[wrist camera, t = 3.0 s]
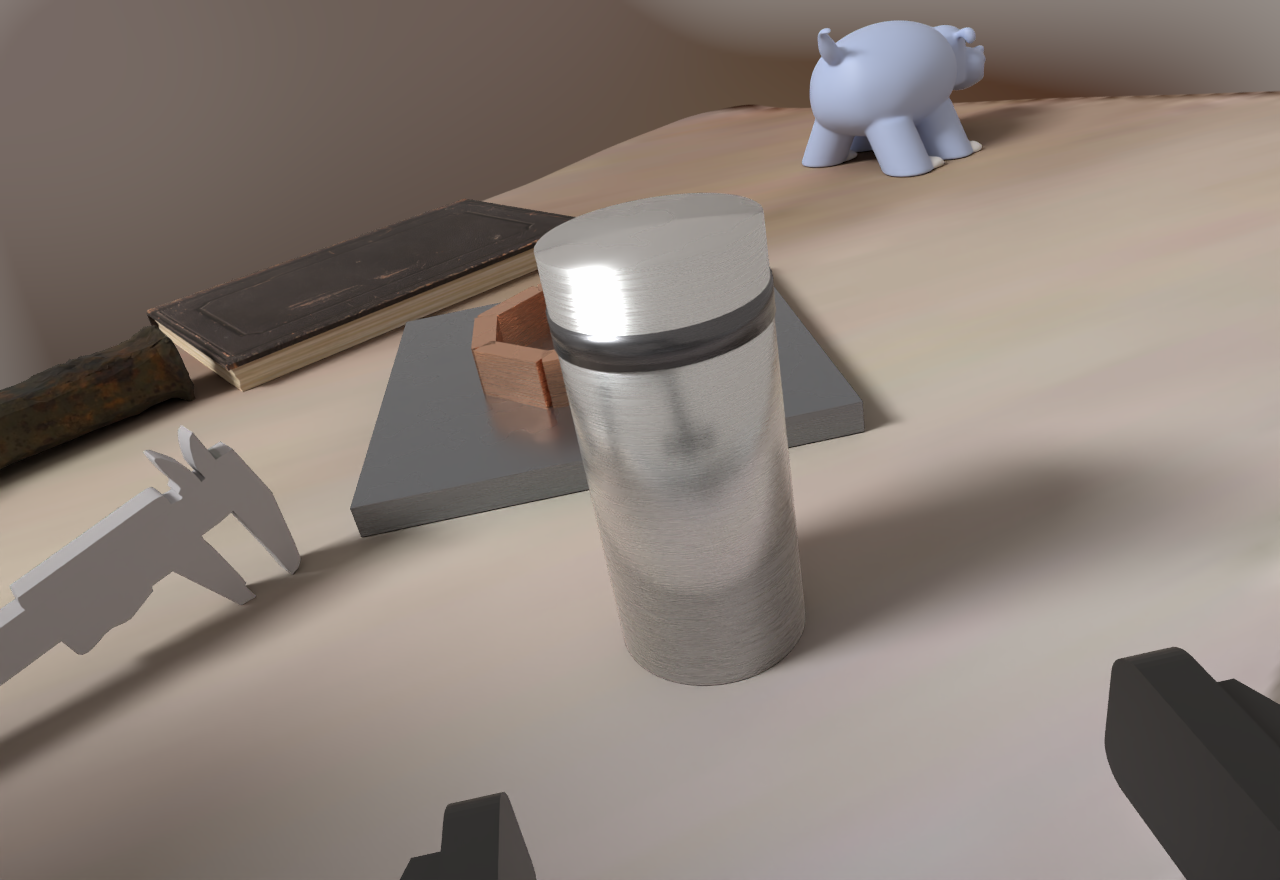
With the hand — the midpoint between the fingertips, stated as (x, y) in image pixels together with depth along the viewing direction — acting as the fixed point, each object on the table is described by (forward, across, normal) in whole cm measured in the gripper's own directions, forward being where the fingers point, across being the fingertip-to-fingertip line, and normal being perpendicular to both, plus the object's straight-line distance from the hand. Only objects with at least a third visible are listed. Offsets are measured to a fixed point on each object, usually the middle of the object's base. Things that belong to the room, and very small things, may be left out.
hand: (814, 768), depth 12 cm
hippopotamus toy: (+56, -22, +7) cm, 60 cm away
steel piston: (+11, 0, +7) cm, 13 cm away
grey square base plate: (+28, +2, +7) cm, 29 cm away
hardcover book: (+48, +15, +7) cm, 51 cm away
